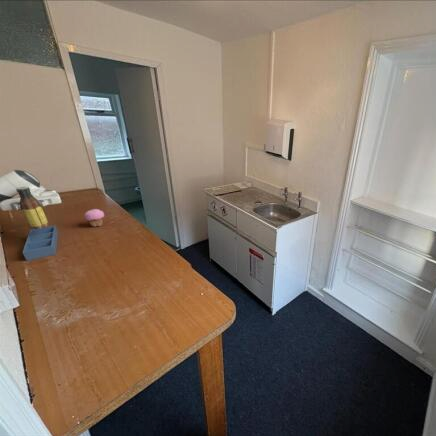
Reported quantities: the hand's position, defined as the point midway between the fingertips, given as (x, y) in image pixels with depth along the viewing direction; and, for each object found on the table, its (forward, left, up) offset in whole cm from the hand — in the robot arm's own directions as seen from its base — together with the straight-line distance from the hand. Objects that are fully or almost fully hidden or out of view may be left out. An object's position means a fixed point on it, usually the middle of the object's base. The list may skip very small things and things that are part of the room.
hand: (30, 206), depth 108 cm
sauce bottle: (0, +1, -11) cm, 11 cm away
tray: (-1, -2, -20) cm, 20 cm away
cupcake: (+21, +11, -20) cm, 31 cm away
